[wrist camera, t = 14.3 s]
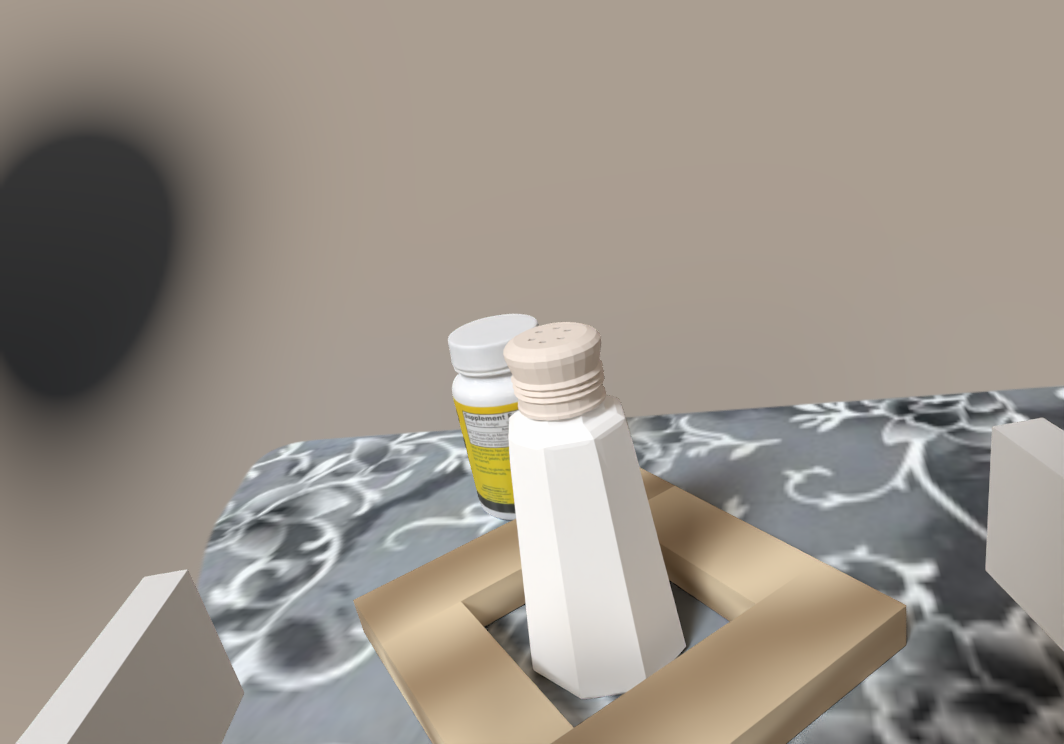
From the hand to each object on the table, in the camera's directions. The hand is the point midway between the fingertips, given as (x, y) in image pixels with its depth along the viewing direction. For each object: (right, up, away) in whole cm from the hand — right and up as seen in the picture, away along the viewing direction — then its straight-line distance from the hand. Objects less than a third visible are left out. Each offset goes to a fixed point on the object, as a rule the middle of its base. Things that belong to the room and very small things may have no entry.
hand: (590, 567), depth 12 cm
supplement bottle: (-1, -3, +22) cm, 22 cm away
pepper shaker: (+2, -6, +12) cm, 14 cm away
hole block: (+2, -6, +12) cm, 14 cm away
